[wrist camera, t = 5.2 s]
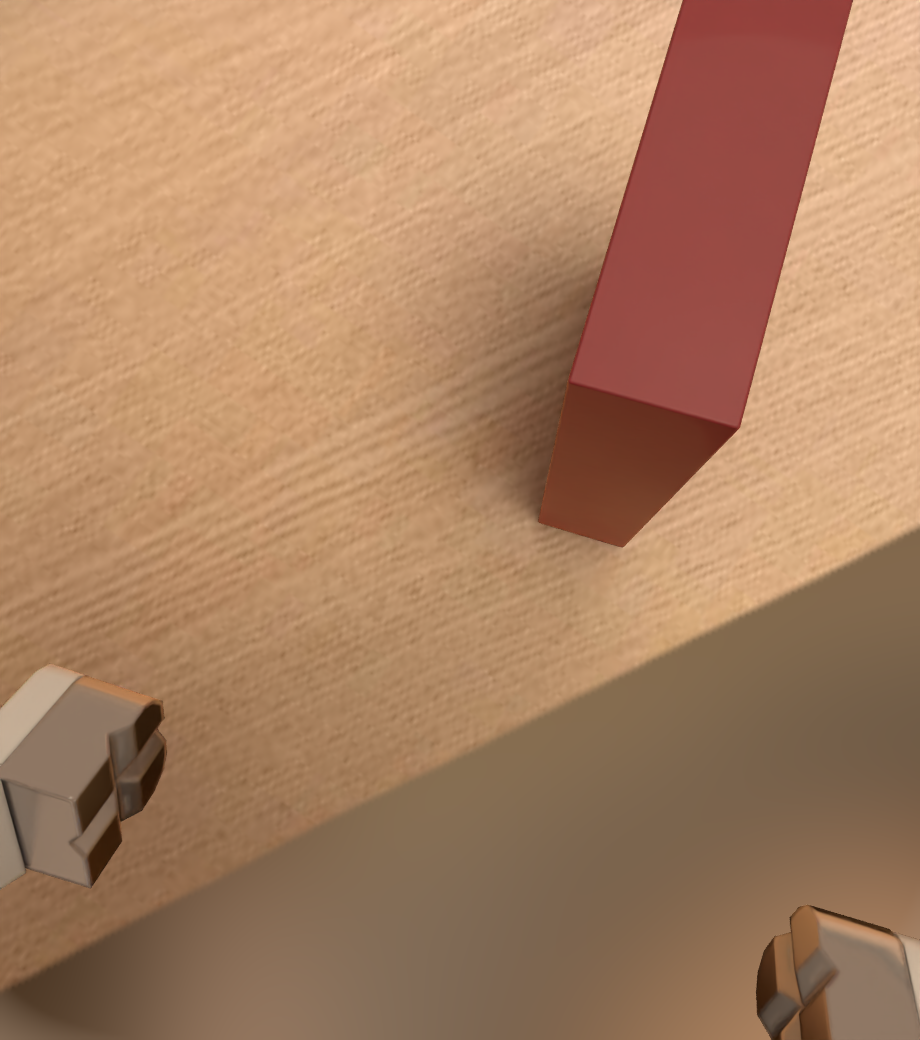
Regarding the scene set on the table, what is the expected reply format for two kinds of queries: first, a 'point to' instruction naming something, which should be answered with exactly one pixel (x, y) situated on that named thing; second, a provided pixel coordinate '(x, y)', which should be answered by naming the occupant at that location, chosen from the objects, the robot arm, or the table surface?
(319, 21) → the table surface
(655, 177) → the book
